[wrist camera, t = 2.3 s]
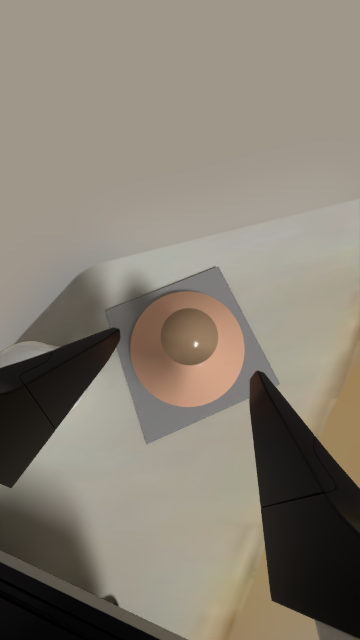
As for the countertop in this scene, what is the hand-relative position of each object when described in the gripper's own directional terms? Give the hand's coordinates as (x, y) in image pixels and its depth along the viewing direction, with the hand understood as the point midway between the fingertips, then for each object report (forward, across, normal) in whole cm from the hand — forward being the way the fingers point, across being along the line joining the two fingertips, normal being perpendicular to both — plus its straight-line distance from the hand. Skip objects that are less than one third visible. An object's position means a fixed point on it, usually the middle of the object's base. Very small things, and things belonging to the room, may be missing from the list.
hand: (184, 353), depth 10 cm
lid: (+7, 0, +5) cm, 9 cm away
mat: (+7, 0, +6) cm, 9 cm away
